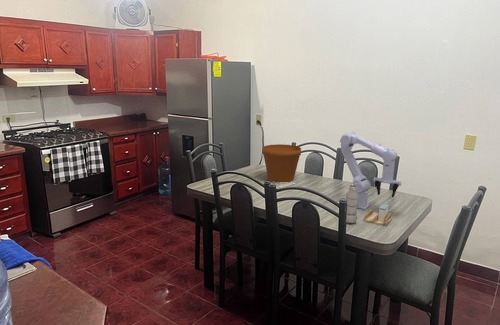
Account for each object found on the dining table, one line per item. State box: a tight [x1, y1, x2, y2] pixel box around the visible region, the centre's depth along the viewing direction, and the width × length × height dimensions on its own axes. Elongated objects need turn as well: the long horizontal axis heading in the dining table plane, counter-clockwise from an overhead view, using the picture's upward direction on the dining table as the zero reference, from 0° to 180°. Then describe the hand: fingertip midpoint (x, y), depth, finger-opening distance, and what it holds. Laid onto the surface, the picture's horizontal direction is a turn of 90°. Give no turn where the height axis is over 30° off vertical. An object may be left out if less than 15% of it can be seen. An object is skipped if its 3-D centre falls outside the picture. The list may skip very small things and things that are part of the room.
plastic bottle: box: [345, 184, 359, 224], centre depth 187 cm, size 6×7×20 cm
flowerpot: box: [261, 143, 302, 183], centre depth 264 cm, size 28×28×24 cm
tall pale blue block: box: [378, 203, 390, 222], centre depth 191 cm, size 3×7×7 cm, turn 146°
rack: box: [362, 208, 393, 227], centre depth 193 cm, size 12×13×3 cm
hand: (385, 195), depth 202 cm, fingers open, 7 cm apart
